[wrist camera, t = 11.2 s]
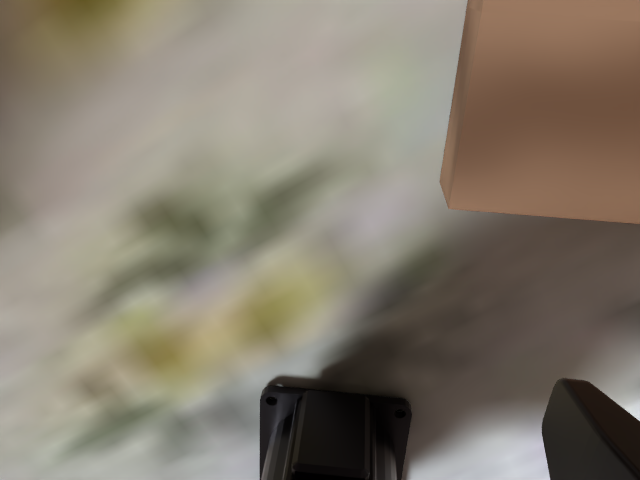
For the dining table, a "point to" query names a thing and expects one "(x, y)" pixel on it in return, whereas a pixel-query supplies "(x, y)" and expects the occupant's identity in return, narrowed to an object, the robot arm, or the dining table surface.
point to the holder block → (547, 110)
